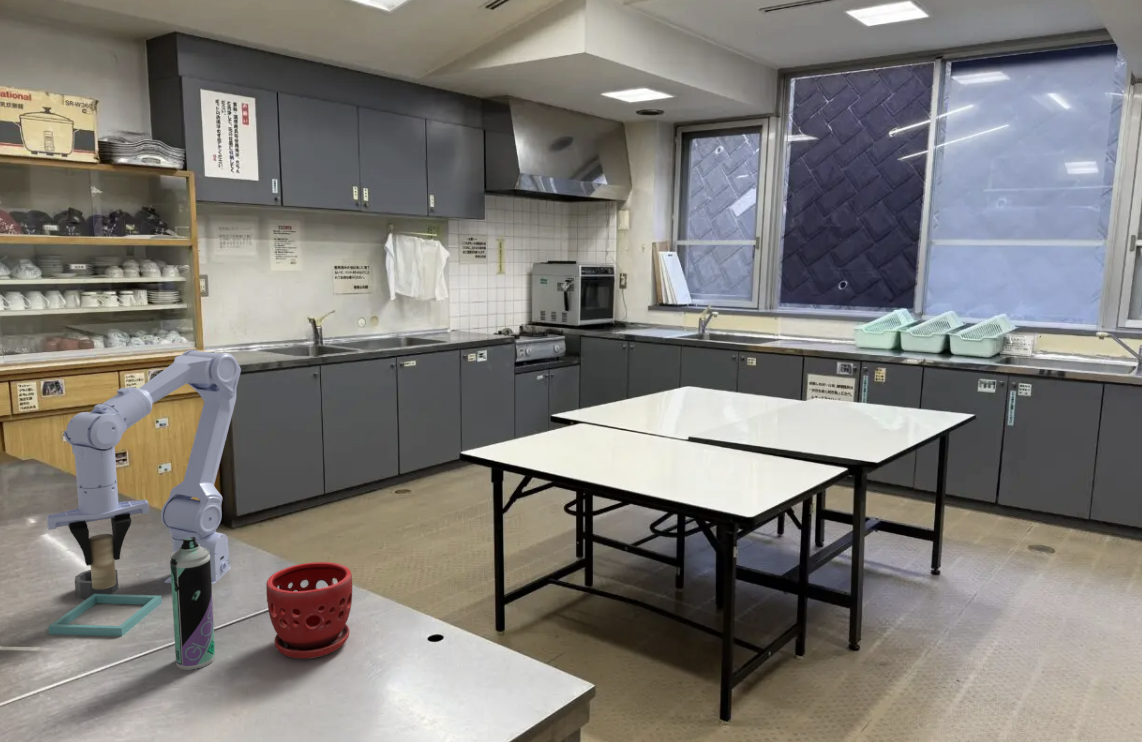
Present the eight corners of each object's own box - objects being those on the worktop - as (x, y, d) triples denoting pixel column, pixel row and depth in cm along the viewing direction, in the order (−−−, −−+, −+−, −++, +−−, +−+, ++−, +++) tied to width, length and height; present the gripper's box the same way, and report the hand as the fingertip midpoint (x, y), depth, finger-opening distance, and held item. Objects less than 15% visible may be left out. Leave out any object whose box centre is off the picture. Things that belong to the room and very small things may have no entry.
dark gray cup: (126, 585, 144) (124, 568, 144) (104, 601, 138) (103, 583, 137) (91, 584, 144) (89, 567, 144) (67, 600, 138) (66, 582, 137)
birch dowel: (119, 580, 133) (116, 533, 132) (111, 588, 130) (107, 541, 128) (97, 580, 132) (94, 534, 131) (88, 589, 129) (84, 541, 128)
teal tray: (161, 605, 137) (161, 595, 137) (122, 638, 125) (121, 628, 125) (94, 603, 137) (94, 593, 137) (49, 636, 125) (48, 626, 125)
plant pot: (369, 633, 129) (368, 566, 127) (318, 673, 117) (316, 599, 115) (305, 619, 133) (303, 553, 131) (250, 655, 121) (247, 584, 119)
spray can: (199, 672, 116) (192, 546, 113) (167, 667, 117) (160, 543, 114) (222, 654, 121) (216, 533, 118) (192, 649, 122) (185, 530, 119)
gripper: (141, 471, 136) (146, 544, 138) (42, 484, 127) (48, 562, 129) (149, 480, 130) (154, 556, 132) (46, 495, 121) (53, 577, 123)
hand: (102, 560), depth 130 cm, fingers closed on birch dowel, 3 cm apart
